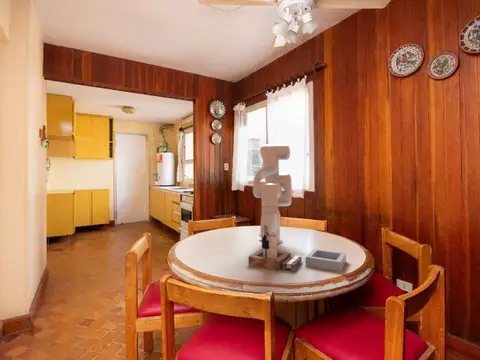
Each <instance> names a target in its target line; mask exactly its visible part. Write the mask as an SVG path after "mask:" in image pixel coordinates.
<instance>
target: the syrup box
mask: <svg viewBox="0 0 480 360" xmlns="http://www.w3.org/2000/svg"><path fill="white" fill-rule="evenodd" d="M266 237H267V236H266ZM268 240H269V249H263V248H262V249H263V257H266V258H271V259H277V251H278V244H277V234H276V233H273V234H272V235H269V238H268Z"/></svg>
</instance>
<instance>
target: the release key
mask: <svg viewBox="0 0 480 360" xmlns="http://www.w3.org/2000/svg"><path fill="white" fill-rule="evenodd" d="M302 258H303V257H302V255H296V254H295V255H294V257H292V259H291V260H290V261H289V262H288V263H287V269H290V270H291V265H292V264H293V263H294V262H295V261H296V260H298V259H301V263H302V261H303V259H302Z"/></svg>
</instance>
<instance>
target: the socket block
mask: <svg viewBox="0 0 480 360" xmlns="http://www.w3.org/2000/svg"><path fill="white" fill-rule="evenodd" d="M247 258H248V259H247V261H248V266H250V267H256V268H261V269H267V270H271V271H275V272H280V271H281V270H282V271H284V272H285V271H286V270H287V269H288V268H287V263H288V262H289V261H290V260H291V259H292V258H293V257H292V253H291V252H289V251H283V250H282V251H281V250H277V259H271V258H266V257H263V248H261V249H259V250H258V251H255V252H254V253H252V254H250V255H249V256H247ZM301 265H302V262H301V259H298V260H296V261H295V262H294V263H293V264H292V265H291V269H290V271H291V273H295V271H297V270H298V269H299V268H300V267H301Z"/></svg>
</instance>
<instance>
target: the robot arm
mask: <svg viewBox="0 0 480 360" xmlns="http://www.w3.org/2000/svg"><path fill="white" fill-rule="evenodd" d="M259 149H260V150H259V154H260V156H261V159H262V167H261V168H260V169H259V170H258V171H257V172H256V173H255V175H254V177H253V183H252V194H253V196H254V197H255V198H256V199H257V198H258V199H261V217H260V233H259V238H261V249H269V240H268V238H269V235H272V234H273V233H276V234H277V245H278V244H281V243H283V241H284V240H283V238H281V213H280V211H279V207H289V206H291V204H292V199H293V196H292V195H293V194H292V193H293V192H292V189H293V188H292V177H291V174H289V173H287V172H280V165H279V164H280V163H279V161H282V160H283V161H287V160H288V161H289V159H290V157H291V149H290V146H289V144H285V143H282V144H280V143H279V144H278V143H275V144H272V143H270V144H262V145H261V146H260V148H259ZM263 179H264V180H265V181H264V182H261V181H262V180H263ZM266 236H267V237H266Z"/></svg>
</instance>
